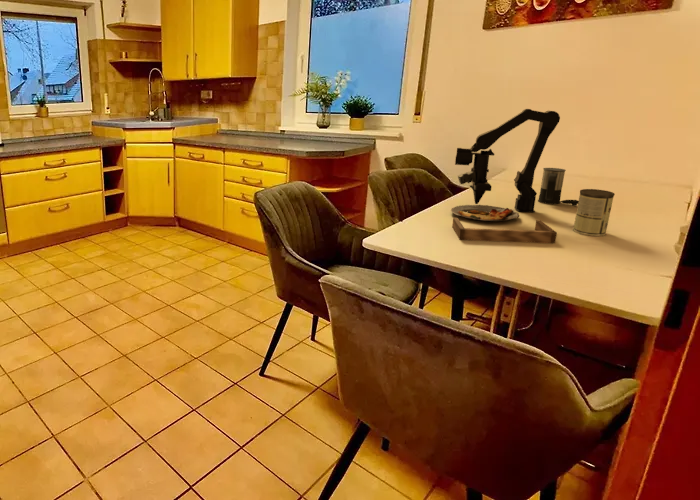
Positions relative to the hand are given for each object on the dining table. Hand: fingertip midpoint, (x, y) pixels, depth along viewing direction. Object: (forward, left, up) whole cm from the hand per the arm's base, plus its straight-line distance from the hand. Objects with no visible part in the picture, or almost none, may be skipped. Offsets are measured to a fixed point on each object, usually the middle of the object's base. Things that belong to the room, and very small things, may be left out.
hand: (476, 203), depth 185 cm
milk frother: (-38, -12, -2) cm, 40 cm away
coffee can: (-32, +32, -2) cm, 45 cm away
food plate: (0, +15, -2) cm, 15 cm away
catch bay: (0, +39, -2) cm, 39 cm away
